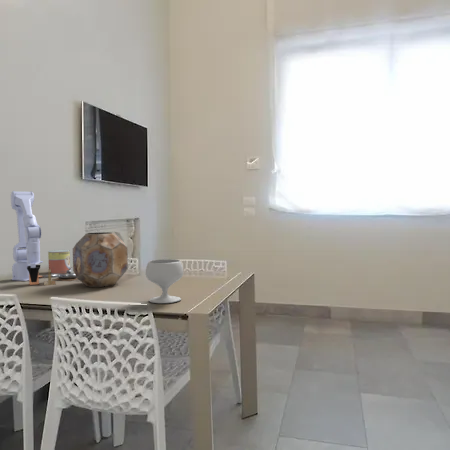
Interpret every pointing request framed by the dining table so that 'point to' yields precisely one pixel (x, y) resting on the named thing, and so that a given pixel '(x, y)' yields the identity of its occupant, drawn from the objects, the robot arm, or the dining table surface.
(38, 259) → the robot arm
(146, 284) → the dining table surface
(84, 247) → the planter
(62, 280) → the wheel mount
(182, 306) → the dining table surface
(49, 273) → the eye post
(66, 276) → the handwheel
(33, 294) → the dining table surface
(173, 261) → the chalice
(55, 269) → the canned food
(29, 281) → the hook rod
